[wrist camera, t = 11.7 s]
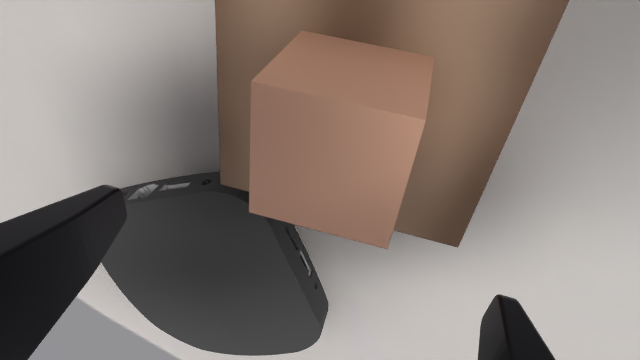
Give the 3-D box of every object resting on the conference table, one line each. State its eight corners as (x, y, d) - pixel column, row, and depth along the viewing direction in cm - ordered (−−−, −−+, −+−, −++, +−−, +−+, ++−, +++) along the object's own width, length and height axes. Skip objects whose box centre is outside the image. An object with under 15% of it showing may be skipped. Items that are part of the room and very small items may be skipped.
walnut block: (563, -45, 15) (582, -30, 13) (458, 208, 22) (457, 247, 20) (246, -99, 17) (212, -94, 14) (243, 153, 24) (220, 184, 22)
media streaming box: (187, 325, 37) (168, 356, 35) (88, 190, 30) (56, 217, 28) (344, 325, 31) (335, 362, 29) (267, 158, 24) (246, 188, 22)
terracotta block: (434, 57, 15) (426, 120, 11) (402, 169, 18) (387, 249, 14) (301, 30, 16) (250, 81, 12) (292, 142, 19) (249, 212, 15)
